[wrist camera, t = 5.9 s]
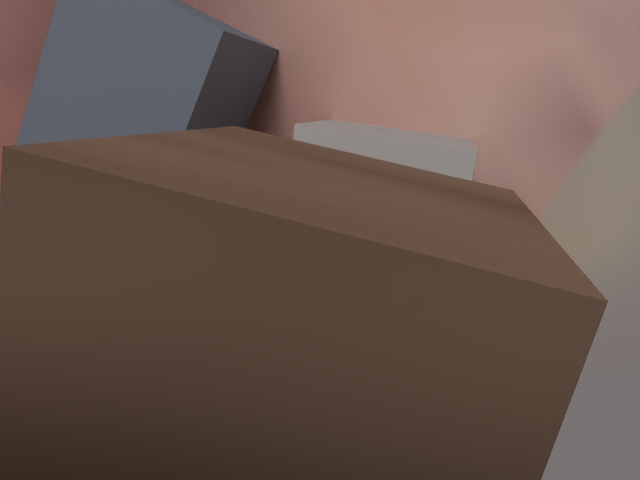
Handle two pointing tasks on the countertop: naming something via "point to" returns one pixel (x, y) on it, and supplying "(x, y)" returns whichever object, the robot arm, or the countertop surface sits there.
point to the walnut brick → (276, 315)
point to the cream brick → (394, 145)
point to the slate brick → (141, 72)
